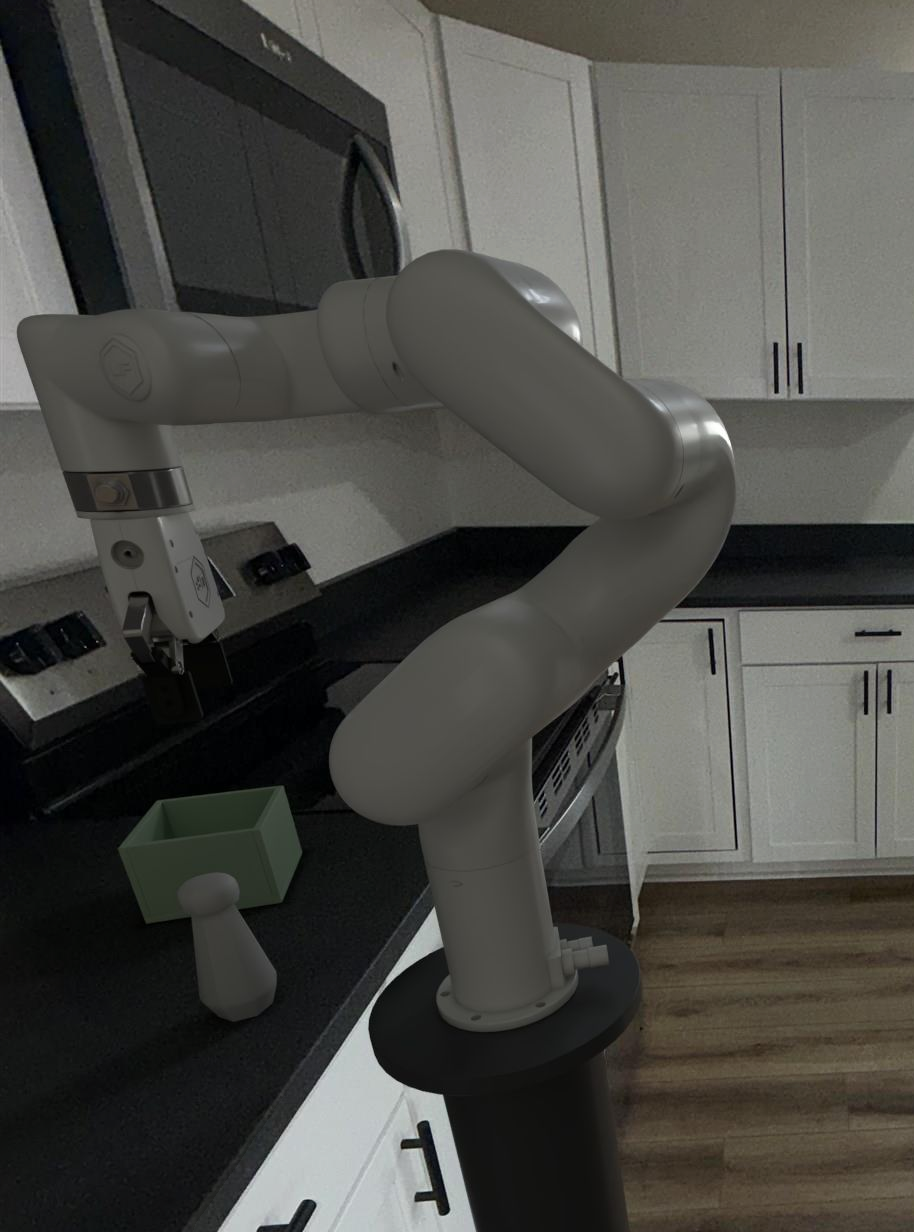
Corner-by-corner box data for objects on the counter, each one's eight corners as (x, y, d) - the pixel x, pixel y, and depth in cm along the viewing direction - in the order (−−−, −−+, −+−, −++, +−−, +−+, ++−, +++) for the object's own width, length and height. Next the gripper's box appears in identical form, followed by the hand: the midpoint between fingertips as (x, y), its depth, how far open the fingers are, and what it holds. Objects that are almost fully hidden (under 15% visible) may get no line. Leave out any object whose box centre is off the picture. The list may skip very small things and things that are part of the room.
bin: (302, 852, 110) (283, 785, 106) (282, 902, 99) (259, 829, 95) (180, 870, 106) (156, 800, 102) (145, 924, 95) (117, 848, 92)
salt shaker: (196, 1011, 82) (149, 884, 76) (264, 980, 86) (225, 857, 81) (226, 1036, 79) (180, 904, 73) (295, 1002, 83) (256, 876, 78)
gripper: (153, 504, 65) (222, 731, 72) (216, 482, 80) (269, 672, 87) (24, 509, 63) (108, 743, 70) (114, 485, 78) (176, 680, 85)
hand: (197, 703), depth 79 cm, fingers open, 9 cm apart
